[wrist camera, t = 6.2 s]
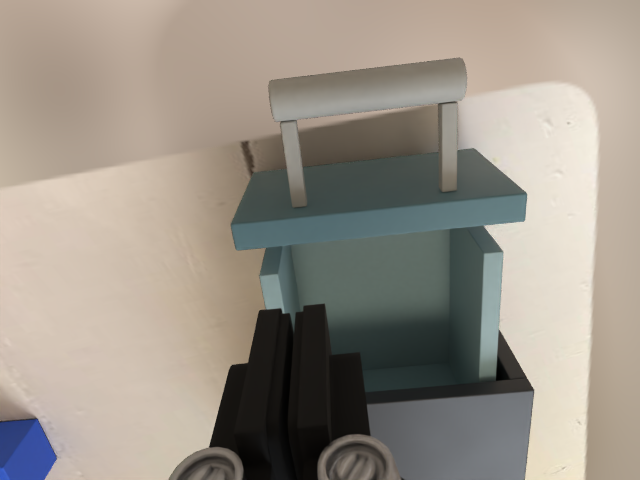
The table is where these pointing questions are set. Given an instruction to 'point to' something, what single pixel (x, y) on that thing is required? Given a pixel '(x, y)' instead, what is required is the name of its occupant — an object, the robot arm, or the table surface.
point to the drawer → (386, 232)
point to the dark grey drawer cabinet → (458, 426)
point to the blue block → (24, 451)
